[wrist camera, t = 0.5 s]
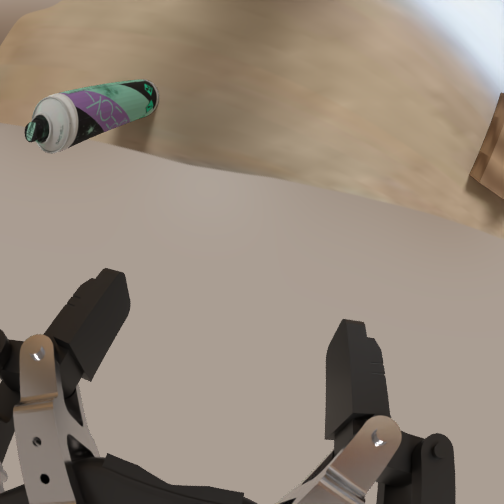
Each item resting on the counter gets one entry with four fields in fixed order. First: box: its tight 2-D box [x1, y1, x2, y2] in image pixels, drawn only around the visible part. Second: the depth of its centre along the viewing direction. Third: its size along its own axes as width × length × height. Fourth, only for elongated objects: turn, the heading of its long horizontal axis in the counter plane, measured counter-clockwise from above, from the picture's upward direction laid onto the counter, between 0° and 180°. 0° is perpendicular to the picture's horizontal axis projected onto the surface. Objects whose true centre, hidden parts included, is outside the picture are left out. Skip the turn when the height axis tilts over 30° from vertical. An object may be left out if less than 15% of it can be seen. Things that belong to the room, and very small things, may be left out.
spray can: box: [25, 79, 159, 153], centre depth 25 cm, size 6×6×20 cm
